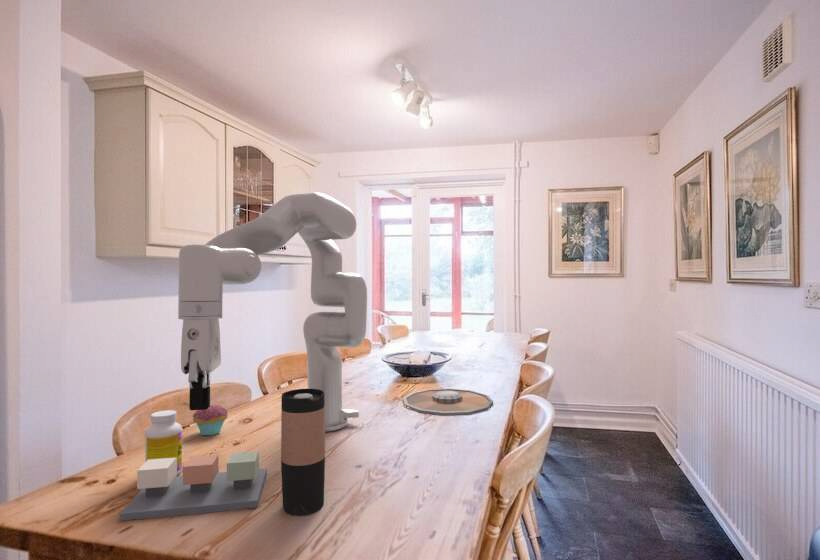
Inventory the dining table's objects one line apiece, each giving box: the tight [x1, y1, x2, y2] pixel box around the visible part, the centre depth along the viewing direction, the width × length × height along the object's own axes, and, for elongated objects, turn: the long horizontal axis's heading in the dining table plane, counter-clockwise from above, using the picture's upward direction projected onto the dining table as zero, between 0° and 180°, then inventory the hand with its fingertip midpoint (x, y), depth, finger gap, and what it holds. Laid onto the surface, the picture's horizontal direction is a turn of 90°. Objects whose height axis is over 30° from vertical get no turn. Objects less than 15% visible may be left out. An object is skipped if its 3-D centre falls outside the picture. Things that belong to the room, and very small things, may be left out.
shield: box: [402, 388, 494, 416], centre depth 147 cm, size 30×3×30 cm
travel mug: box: [280, 388, 326, 517], centre depth 79 cm, size 8×8×20 cm
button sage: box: [226, 451, 260, 481], centre depth 85 cm, size 5×5×3 cm
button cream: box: [136, 457, 178, 490], centre depth 82 cm, size 5×5×3 cm
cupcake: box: [192, 404, 229, 436], centre depth 118 cm, size 9×8×12 cm
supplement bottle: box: [144, 409, 183, 476], centre depth 92 cm, size 7×7×13 cm
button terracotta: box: [182, 453, 220, 485], centre depth 83 cm, size 5×5×3 cm
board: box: [119, 467, 268, 522], centre depth 83 cm, size 22×14×3 cm, turn 101°
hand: (199, 408), depth 83 cm, fingers closed
